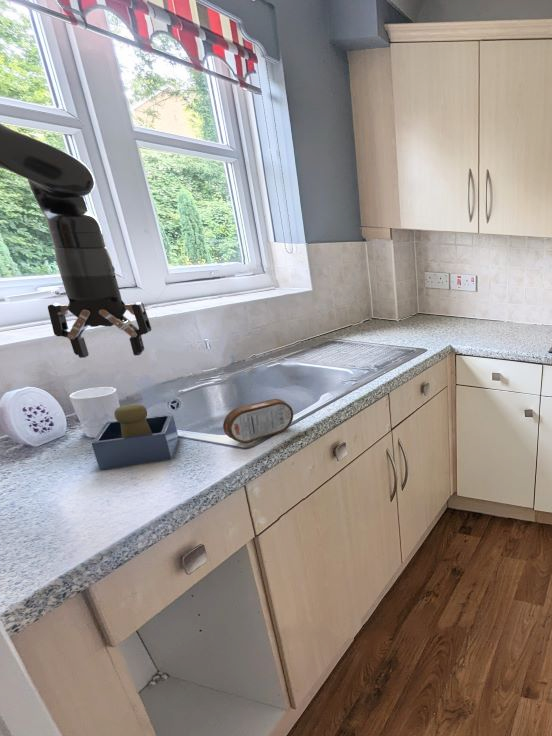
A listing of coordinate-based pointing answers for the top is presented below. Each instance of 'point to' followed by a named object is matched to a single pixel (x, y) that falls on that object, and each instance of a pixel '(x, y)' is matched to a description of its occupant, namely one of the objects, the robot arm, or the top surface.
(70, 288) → the robot arm
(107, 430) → the holder
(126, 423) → the cork
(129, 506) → the top surface
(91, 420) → the white cup
